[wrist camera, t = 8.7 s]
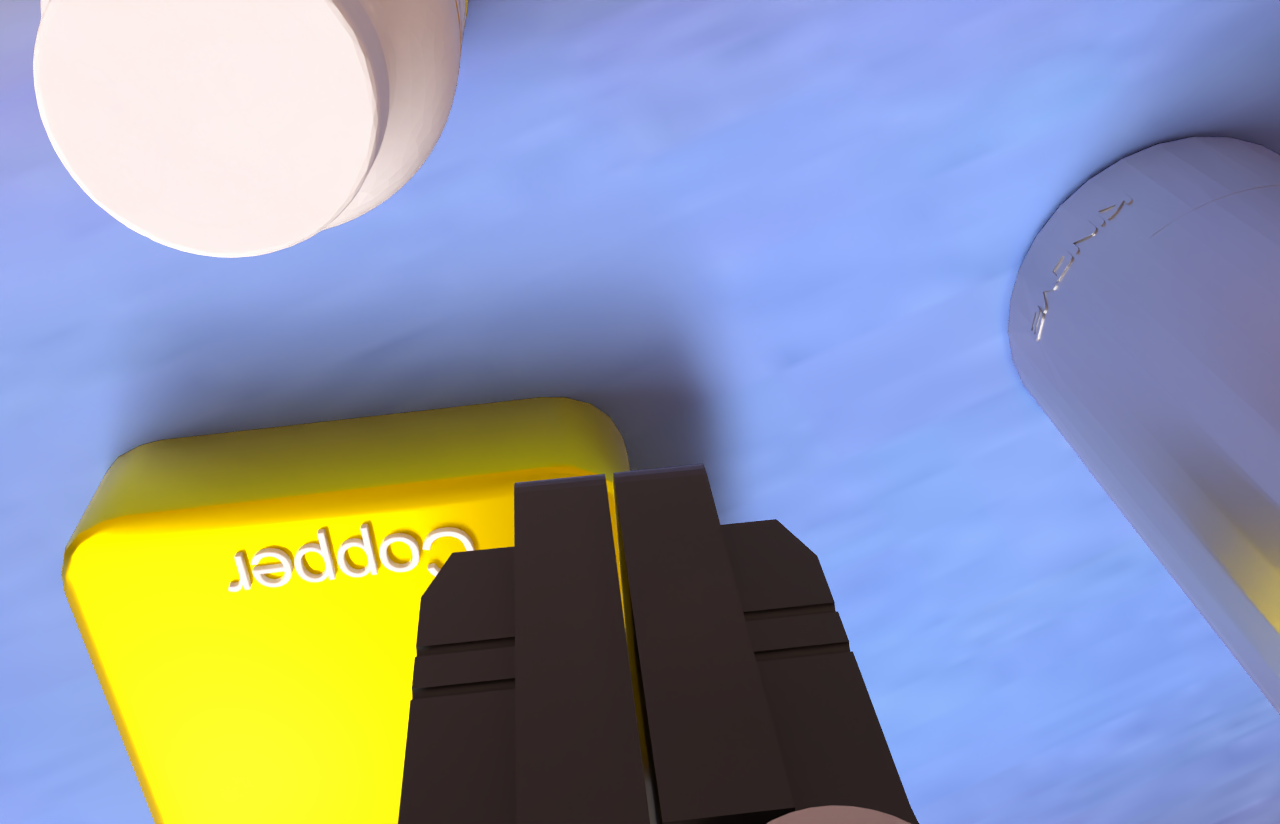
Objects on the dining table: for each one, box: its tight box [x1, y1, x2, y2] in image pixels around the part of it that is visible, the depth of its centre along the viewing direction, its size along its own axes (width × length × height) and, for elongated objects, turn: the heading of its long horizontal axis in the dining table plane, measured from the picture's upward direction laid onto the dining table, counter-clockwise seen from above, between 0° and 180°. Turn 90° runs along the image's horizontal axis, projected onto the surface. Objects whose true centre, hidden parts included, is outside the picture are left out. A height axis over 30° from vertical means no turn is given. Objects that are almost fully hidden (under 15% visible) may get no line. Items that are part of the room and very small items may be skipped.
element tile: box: [62, 397, 630, 824], centre depth 36 cm, size 15×15×5 cm
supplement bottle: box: [33, 0, 468, 258], centre depth 22 cm, size 7×7×13 cm
